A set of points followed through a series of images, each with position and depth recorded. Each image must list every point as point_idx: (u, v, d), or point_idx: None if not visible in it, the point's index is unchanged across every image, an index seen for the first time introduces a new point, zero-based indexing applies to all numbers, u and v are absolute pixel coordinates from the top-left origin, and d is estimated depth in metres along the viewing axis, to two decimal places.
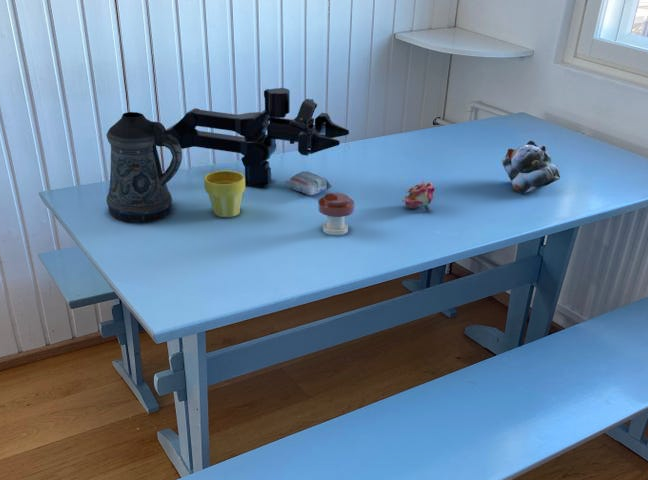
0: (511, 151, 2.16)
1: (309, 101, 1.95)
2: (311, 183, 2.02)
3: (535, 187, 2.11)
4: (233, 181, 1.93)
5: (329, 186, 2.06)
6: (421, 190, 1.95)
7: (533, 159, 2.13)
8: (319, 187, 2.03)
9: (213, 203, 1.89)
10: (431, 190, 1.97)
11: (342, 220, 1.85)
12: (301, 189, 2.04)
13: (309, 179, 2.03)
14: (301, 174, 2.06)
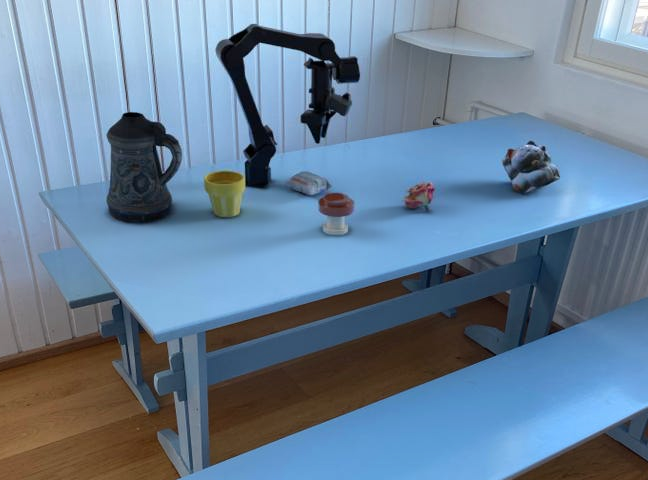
0: (511, 151, 2.16)
1: (349, 107, 2.04)
2: (311, 183, 2.02)
3: (535, 187, 2.11)
4: (233, 181, 1.93)
5: (329, 186, 2.06)
6: (421, 190, 1.95)
7: (533, 159, 2.13)
8: (319, 187, 2.03)
9: (213, 203, 1.89)
10: (431, 190, 1.97)
11: (342, 220, 1.85)
12: (301, 189, 2.04)
13: (308, 179, 2.03)
14: (301, 174, 2.06)
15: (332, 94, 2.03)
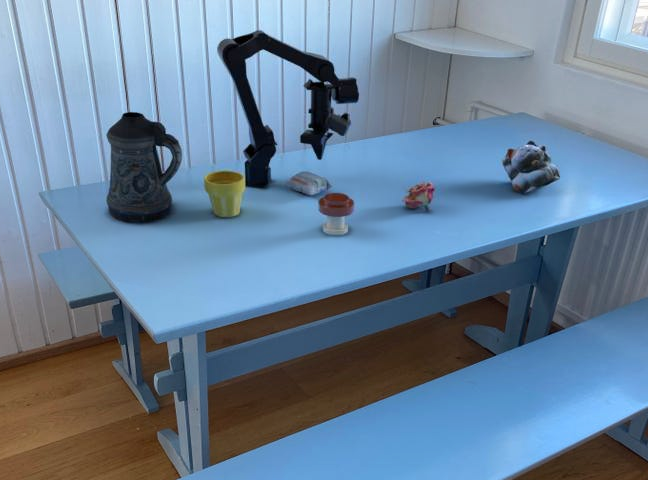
0: (511, 151, 2.16)
1: (348, 127, 2.07)
2: (311, 183, 2.02)
3: (535, 187, 2.11)
4: (233, 181, 1.93)
5: (329, 186, 2.06)
6: (421, 190, 1.95)
7: (533, 159, 2.13)
8: (319, 187, 2.03)
9: (213, 203, 1.89)
10: (431, 190, 1.97)
11: (342, 220, 1.85)
12: (301, 189, 2.04)
13: (309, 179, 2.03)
14: (301, 174, 2.06)
15: (331, 114, 2.06)
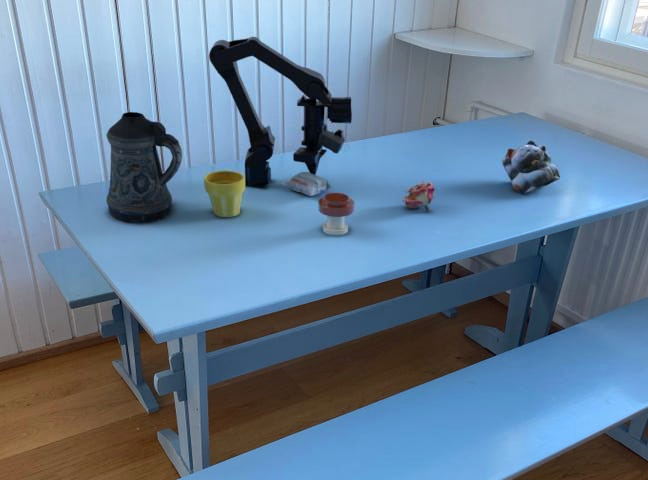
0: (511, 151, 2.16)
1: (342, 144, 2.04)
2: (311, 184, 2.02)
3: (535, 187, 2.11)
4: (233, 181, 1.93)
5: (329, 186, 2.06)
6: (421, 190, 1.95)
7: (533, 159, 2.13)
8: (319, 188, 2.03)
9: (213, 203, 1.89)
10: (431, 190, 1.97)
11: (342, 220, 1.85)
12: (301, 190, 2.04)
13: (308, 179, 2.03)
14: (301, 175, 2.05)
15: (325, 131, 2.03)
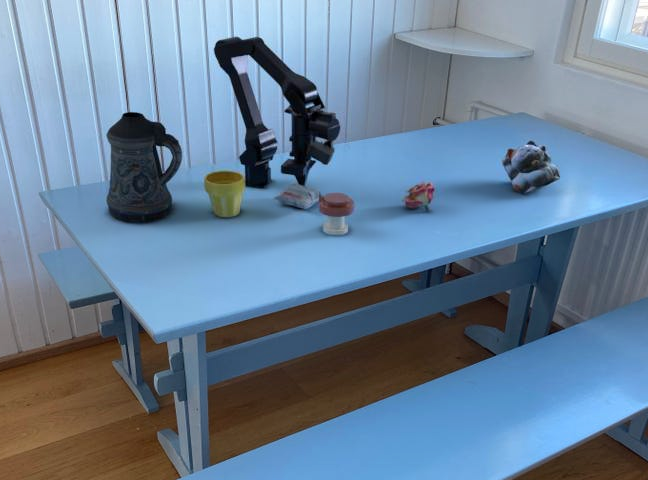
0: (511, 151, 2.16)
1: (332, 155, 1.96)
2: (306, 196, 1.95)
3: (535, 187, 2.11)
4: (233, 181, 1.93)
5: None
6: (421, 190, 1.95)
7: (533, 159, 2.13)
8: (313, 199, 1.96)
9: (213, 203, 1.89)
10: (431, 190, 1.97)
11: (342, 220, 1.85)
12: (294, 203, 1.96)
13: (301, 192, 1.96)
14: (292, 187, 1.98)
15: (314, 142, 1.95)
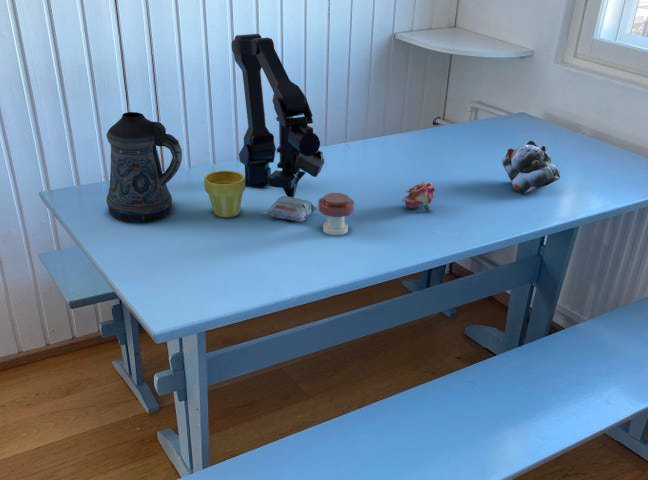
0: (511, 151, 2.16)
1: (321, 167, 1.89)
2: (300, 208, 1.88)
3: (535, 187, 2.11)
4: (233, 181, 1.93)
5: (314, 208, 1.93)
6: (421, 190, 1.95)
7: (533, 159, 2.13)
8: (307, 211, 1.90)
9: (213, 203, 1.89)
10: (431, 190, 1.97)
11: (342, 220, 1.85)
12: (288, 216, 1.89)
13: (295, 204, 1.89)
14: (283, 200, 1.90)
15: None
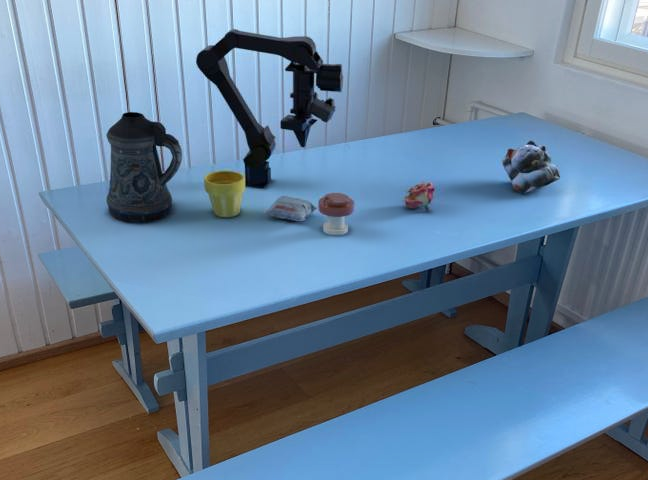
0: (511, 151, 2.16)
1: (332, 113, 1.97)
2: (300, 208, 1.88)
3: (535, 187, 2.11)
4: (233, 181, 1.93)
5: (314, 208, 1.93)
6: (421, 190, 1.95)
7: (533, 159, 2.13)
8: (307, 211, 1.90)
9: (213, 203, 1.89)
10: (431, 190, 1.97)
11: (342, 220, 1.85)
12: (288, 216, 1.89)
13: (295, 204, 1.89)
14: (283, 200, 1.90)
15: (314, 99, 1.96)
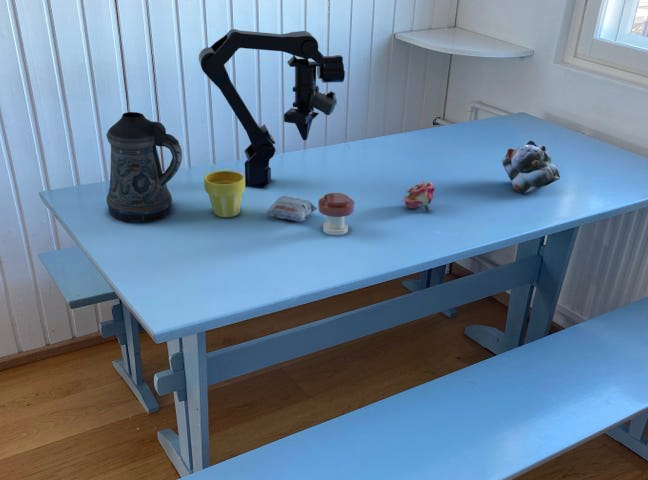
0: (511, 151, 2.16)
1: (334, 106, 2.01)
2: (300, 208, 1.88)
3: (535, 187, 2.11)
4: (233, 181, 1.93)
5: (314, 208, 1.93)
6: (421, 190, 1.95)
7: (533, 159, 2.13)
8: (307, 211, 1.90)
9: (213, 203, 1.89)
10: (431, 190, 1.97)
11: (342, 220, 1.85)
12: (288, 216, 1.89)
13: (295, 204, 1.89)
14: (283, 200, 1.90)
15: (316, 93, 2.00)
